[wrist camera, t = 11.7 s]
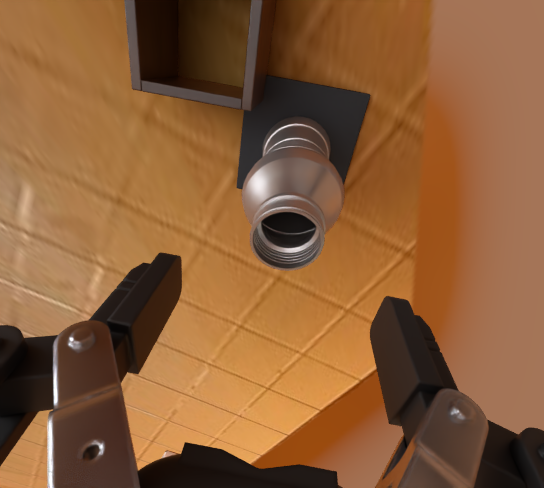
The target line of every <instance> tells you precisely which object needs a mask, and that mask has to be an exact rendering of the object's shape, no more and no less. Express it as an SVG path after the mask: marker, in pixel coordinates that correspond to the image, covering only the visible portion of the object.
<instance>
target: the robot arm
mask: <svg viewBox="0 0 544 488" xmlns="http://www.w3.org/2000/svg"><path fill="white" fill-rule="evenodd" d="M181 288H182V268H181V257H180V256H177V255H172V254H167V253H159V254H158V255H157V256H156V258H155V259H154V260H153V262H152V263H151V264H148V263H142V264H141V265H139V266H137V267H135V268H134V269H132V270H131V271H130V272H129V273H128V274H127V276H126V277H125V278H124V279H123V281H122V282H121V283H120V284H119V285H118V286H117V289H115V290H114V291H113V292H112V293H111V295H110V296H109V297H108V298H107V299H106V300H105V302H104V303H103V304H102V305H101V306H100V307H99V309H98V310H97V311H96V312H95V313H94V315H93V316H92V317H91V318H90V319H89V320H88V321H82V322H79V323H76V324H73V325H71V326H69V327H67V328H66V329H65V330H63V331H62V332H61V333H60V334H59V335H55V336H44V337H31V338H24V337H23V335H22V333H21V331H20V330H19V329H18V328H16V327H14V326H8V325H1V326H0V466H1V464H2V463H3V462H4V460H5V459H6V457H7V456H8V454H9V453H10V452H11V450H12V449H13V447H14V446H15V445H16V443H17V442H18V440H19V439H20V437H21V436H22V435H23V433H24V432H25V430H26V429H27V427H28V426H29V425H30V423H31V422H32V420H33V419H34V417H35V416H36V415H37V413H38V412H39V411H44V410H51V409H53V411H51V412H50V413H49V416H48V488H342V487H341V486H339V485H338V482H337V472H336V471H330V470H325V469H320V468H315V467H310V466H305V465H291V466H283V467H274V468H266V469H259V468H256V467H254V466H252V465H250V464H249V463H247V462H245V461H243V460H241V459H239V458H237V457H235V456H234V455H232V454H230V453H228V452H226V451H224V450H222V449H217V448H212V447H207V446H202V445H197V444H192V443H186V442H185V444H184V447H183V450H182V453H181V454H176V455H171V456H167V457H164V458H161V459H159V460H156V461H154V462H152V463H150V464H148V465H146V466H145V467H143V468H142V469H140V470H139V471H138V468H137V463H136V458H135V453H134V448H133V443H132V438H131V433H130V428H129V423H128V418H127V412H126V407H125V402H124V397H123V392H122V387H121V382H122V380H123V379H124V377H125V375H126V374H127V372H129V373H135V374H139V372H140V370H141V368H142V367H143V365H144V363H145V361H146V359H147V357H148V356H149V354H150V352H151V350H152V348H153V346H154V345H155V343H156V341H157V339H158V337H159V335H160V333H161V332H162V330H163V328H164V326H165V324H166V322H167V321H168V319H169V317H170V315H171V313H172V311H173V310H174V308H175V306H176V304H177V302H178V300H179V297H180V294H181ZM370 340H371V345H372V349H373V354H374V358H375V363H376V367H377V372H378V376H379V381H380V385H381V389H382V394H383V399H384V403H385V408H386V412H387V417H388V420H389V424H393V425H398V426H402V429H403V433H404V435H403V436H402V437H401V439H400V441H399V443H398V445H397V447H396V449H395V450H394V453H393V454H392V456H391V458H390V460H389V462H388V464H387V466H386V468H385V470H384V472H383V473H382V476H381V477H380V479H379V481H378V483H377V485H376V487H375V488H544V431H542V430H540V429H537V428H526V429H525V430H523V431H522V432H521V433H520V434H516V433H514V432H512V431H509V430H508V429H505V428H503V427H501V426H499V425H497V424H495V423H493V422H491V421H489V420H487V419H486V416H485V415H484V413H483V411H482V410H481V409H480V407H479V406H478V405H477V404H476V403H475V402H474V401H473V400H472V399H470V398H469V397H468V396H466V395H465V394H463V393H461V392H459V390H458V389H457V386H456V384H455V383H454V380H453V377H452V375H451V373H450V371H449V368H448V366H447V365H446V362H445V360H444V357H443V355H442V353H441V352H440V349H439V346H438V344H437V342H435V338H434V336H433V333H432V331H431V329H430V327H429V326H428V325H427V324H426V323H425V321H424V320H423V319H422V318H421V317H420V316H417V315H414V313H413V310H412V308H411V305H410V303H409V301H408V300H405V299H400V298H395V297H389V296H386V297H385V298H384V300H383V302H382V304H381V306H380V308H379V310H378V312H377V314H376V316H375V318H374V320H373V322H372V325H371V329H370Z"/></svg>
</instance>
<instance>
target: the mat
mask: <svg viewBox="0 0 544 488" xmlns="http://www.w3.org/2000/svg"><path fill="white" fill-rule="evenodd" d="M369 98H370V94H367V93H361V92H356V91H350V90H345V89H340V88H334V87H329V86H324V85H318V84H313V83H308V82H302V81H297V80H292V79H286V78H281V77H275V76H270V75H266V81H265V89H264V97H263V101H262V102H261V103H260V104H259V105H257V106H256V107H255V108H254V109H253V110H252V111H245V110H244V117H243V127H242V137H241V148H240V158H239V168H238V178H237V188H239V189H243V184H244V181H245V179H246V177H247V175H248V173H249V172H250V170H251V169H252V168H253V166H254V165H255V164H256V163H257V162H258V161H259V160H260V159H261V158H262V157H263V144H264V140H265V138H266V135H267V134H268V132H269V131H270V129H271V128H272V127H273V126H274V125H275V124H277V123H278V122H280V121H281V120H284V119H286V118H289V117H295V116H297V117H306V118H310V119H312V120H314V121H316V122H317V123H318V124H320V125H321V126H322V128H323V129H324V130H325V131H326V133H327V135H328V137H329V141H330V149H331V150H330V157H329V161H330V162H331V163H332V164H333V165H334V167H335V168H336V170H337V172H338V174H339V175H340V177H341V179H342V183H343V184H344V181H345V178H346V174H347V171H348V168H349V165H350V161H351V158H352V155H353V151H354V148H355V145H356V141H357V138H358V135H359V131H360V128H361V125H362V121H363V118H364V115H365V112H366V108H367V105H368V102H369Z"/></svg>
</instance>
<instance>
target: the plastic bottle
mask: <svg viewBox="0 0 544 488" xmlns="http://www.w3.org/2000/svg"><path fill="white" fill-rule="evenodd" d="M330 150H331V149H330V141H329V137H328V135H327V133H326V131H325V130H324V129H323V128H322V126H321V125H320V124H318V123H317V122H316V121H314V120H312V119H310V118H306V117H297V116H295V117H289V118H286V119H284V120H281V121H280V122H278V123H277V124H275V125H274V126H273V127H272V128H271V129H270V131H269V132H268V134H267V135H266V138H265V140H264V144H263V157H262V158H261V159H260V160H259V161H258V162H257V163H256V164H255V165H254V166H253V168H252V169H251V170H250V172H249V173H248V175H247V177H246V179H245V181H244V184H243V189H242V203H243V207H244V211H245V215H246V217H247V219H248V221H249V223H250V224H251V226H252V228H251V232H250V245H251V249H252V251H253V253H254V254H255V256H256V257H257V258H258V259H259V260H260V261H261V262H262V263H264V264H265V265H267V266H269V267H272V268H274V269H278V270H286V271H289V270H297V269H301V268H303V267H306V266H308V265H309V264H311V263H312V262H313V261H314V260H316V259H317V257H318V256H319V255H320V253H321V251H322V248H323V245H324V239H325V238H324V235H325V234H326V233H327V232H328V231H329V230H330V229H331V228H332V227H333V225H334V224H335V222H336V221H337V219H338V217H339V214H340V212H341V210H342V207H343V203H344V186H343V183H342V179H341V177H340V175H339V174H338V172H337V170H336V168H335V167H334V165H333V164H332V163H331V162H330V161H329V157H330Z"/></svg>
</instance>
